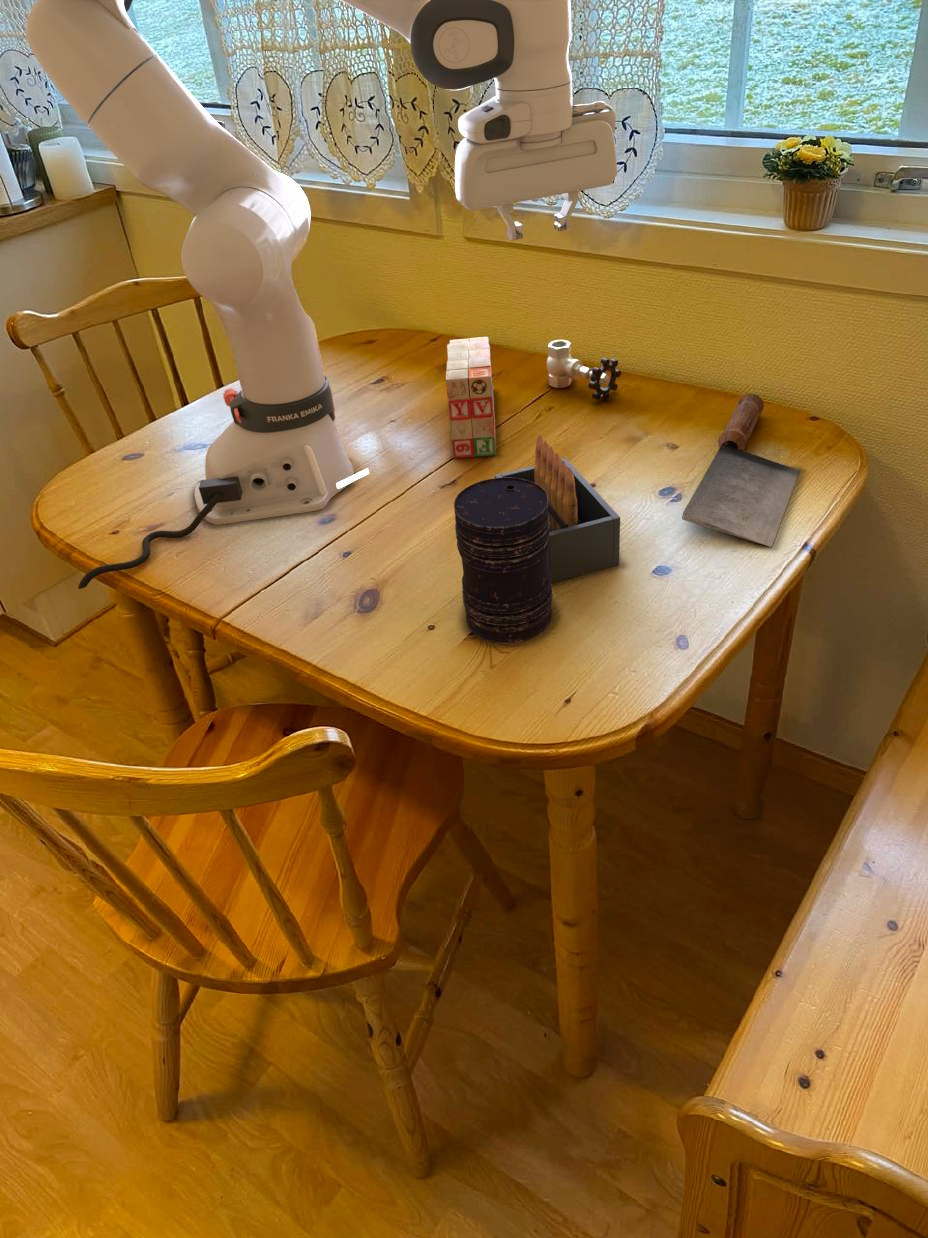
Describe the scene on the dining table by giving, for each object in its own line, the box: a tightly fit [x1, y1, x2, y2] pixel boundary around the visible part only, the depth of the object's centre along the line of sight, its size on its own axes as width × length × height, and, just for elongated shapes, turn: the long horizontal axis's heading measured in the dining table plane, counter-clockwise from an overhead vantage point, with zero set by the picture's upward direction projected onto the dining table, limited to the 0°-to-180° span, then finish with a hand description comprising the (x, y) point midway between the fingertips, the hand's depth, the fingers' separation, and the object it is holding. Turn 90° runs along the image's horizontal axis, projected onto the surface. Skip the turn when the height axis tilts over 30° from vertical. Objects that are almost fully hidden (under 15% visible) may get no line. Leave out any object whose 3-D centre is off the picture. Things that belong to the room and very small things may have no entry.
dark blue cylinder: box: [453, 477, 553, 645], centre depth 99 cm, size 10×10×15 cm
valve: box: [546, 339, 622, 401], centre depth 145 cm, size 7×7×12 cm
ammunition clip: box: [533, 434, 580, 532], centre depth 110 cm, size 11×2×12 cm, turn 18°
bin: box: [494, 457, 621, 584], centre depth 112 cm, size 10×16×7 cm, turn 18°
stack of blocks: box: [445, 336, 497, 459], centre depth 137 cm, size 21×6×12 cm, turn 0°
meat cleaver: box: [681, 393, 801, 548], centre depth 122 cm, size 34×11×4 cm, turn 155°
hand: (538, 234), depth 117 cm, fingers open, 5 cm apart
